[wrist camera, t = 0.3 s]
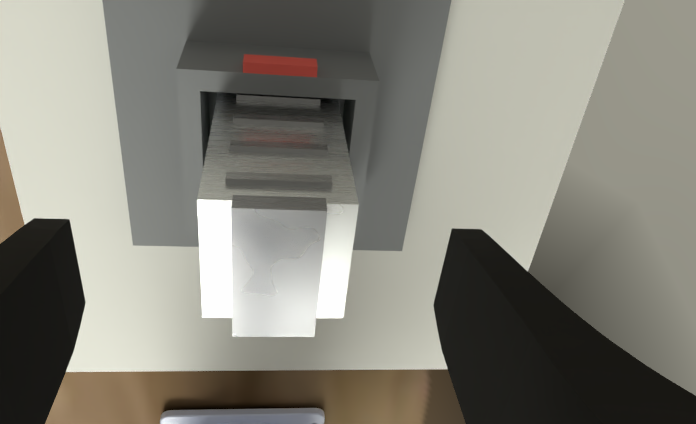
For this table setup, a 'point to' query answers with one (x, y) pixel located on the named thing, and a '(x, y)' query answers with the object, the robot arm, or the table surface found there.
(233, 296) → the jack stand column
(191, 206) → the jack stand base
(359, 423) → the table surface
